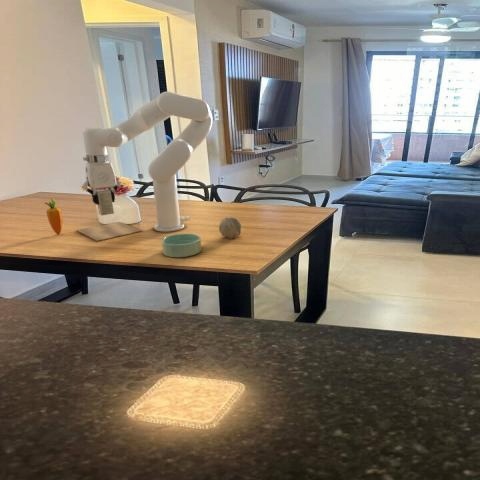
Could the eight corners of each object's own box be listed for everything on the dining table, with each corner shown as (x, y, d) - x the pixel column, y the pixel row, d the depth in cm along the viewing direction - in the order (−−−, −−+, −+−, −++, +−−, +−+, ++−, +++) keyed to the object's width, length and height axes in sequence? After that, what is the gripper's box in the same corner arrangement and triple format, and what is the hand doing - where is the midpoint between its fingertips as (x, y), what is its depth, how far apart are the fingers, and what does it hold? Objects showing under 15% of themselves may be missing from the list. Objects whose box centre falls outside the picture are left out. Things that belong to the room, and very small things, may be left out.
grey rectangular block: (111, 211, 165) (108, 188, 162) (114, 214, 162) (111, 190, 159) (98, 213, 162) (94, 190, 159) (100, 215, 159) (97, 191, 156)
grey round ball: (241, 242, 162) (248, 222, 158) (224, 243, 155) (231, 222, 152) (229, 231, 167) (235, 211, 163) (212, 232, 160) (218, 211, 157)
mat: (119, 222, 177) (119, 221, 177) (141, 231, 165) (141, 230, 165) (77, 231, 164) (77, 230, 164) (97, 241, 152) (97, 240, 152)
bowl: (188, 243, 152) (187, 231, 151) (208, 251, 144) (207, 238, 143) (155, 252, 142) (154, 239, 141) (176, 261, 134) (174, 247, 133)
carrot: (58, 237, 156) (51, 201, 151) (48, 236, 157) (40, 200, 152) (68, 233, 160) (61, 198, 156) (58, 232, 161) (51, 197, 156)
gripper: (78, 161, 146) (86, 207, 152) (123, 158, 159) (129, 201, 165) (70, 160, 151) (78, 204, 156) (115, 157, 163) (121, 198, 169)
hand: (104, 202), depth 160 cm, fingers closed on grey rectangular block, 5 cm apart
